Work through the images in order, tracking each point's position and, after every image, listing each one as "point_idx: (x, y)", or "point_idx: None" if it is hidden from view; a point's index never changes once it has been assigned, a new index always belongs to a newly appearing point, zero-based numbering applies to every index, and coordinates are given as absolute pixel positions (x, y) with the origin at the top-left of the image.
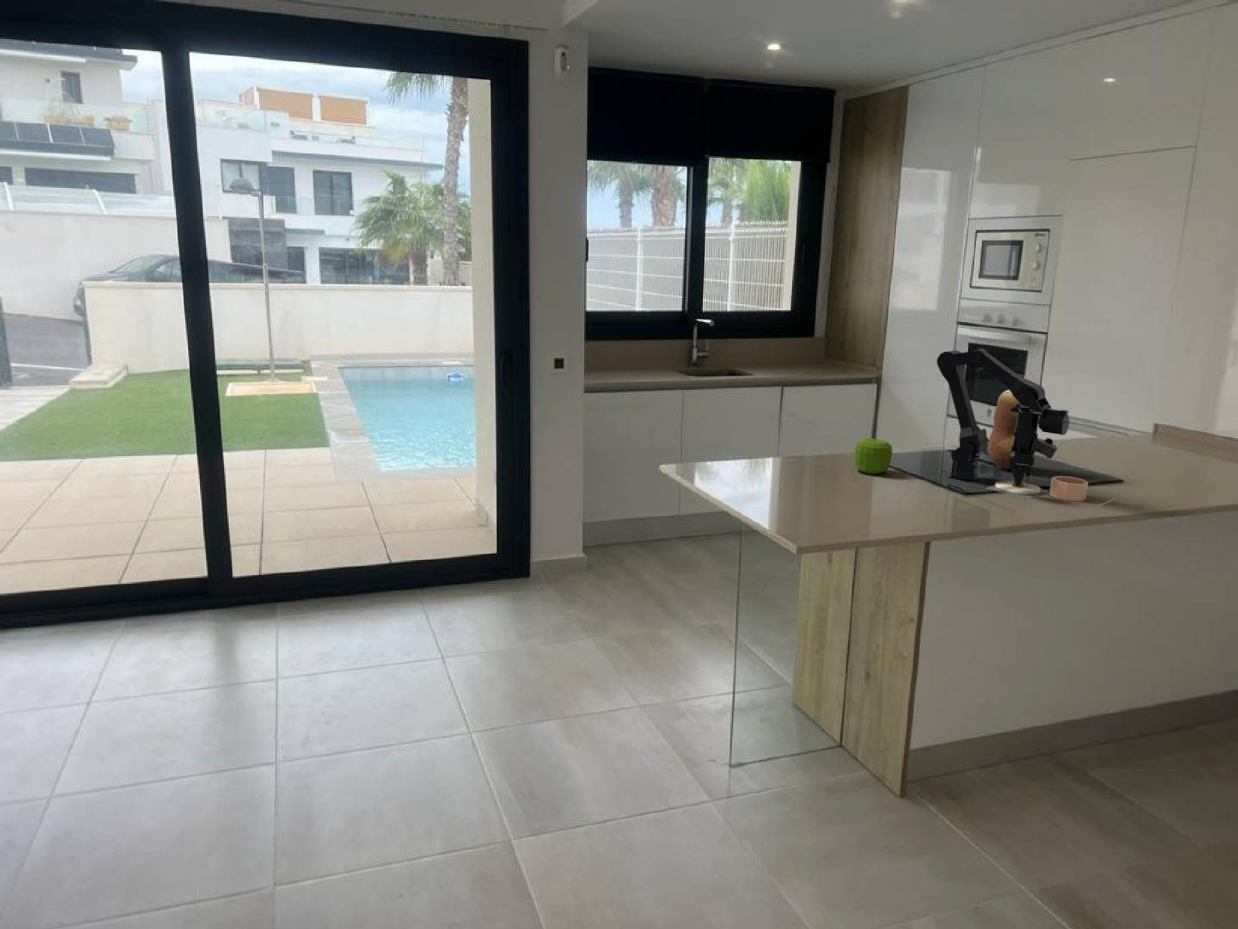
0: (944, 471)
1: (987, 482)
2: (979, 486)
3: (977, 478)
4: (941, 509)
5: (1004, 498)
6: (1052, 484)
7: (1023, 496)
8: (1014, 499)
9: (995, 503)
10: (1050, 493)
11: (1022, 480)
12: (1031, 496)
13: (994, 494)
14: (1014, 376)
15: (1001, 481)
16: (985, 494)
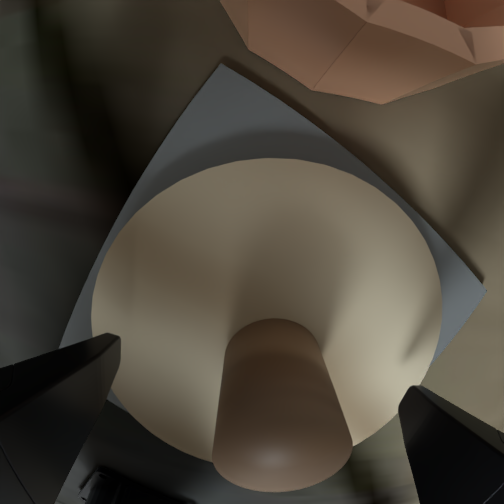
0: None
1: (119, 443)
2: (234, 487)
3: (105, 474)
4: None
5: None
6: (441, 78)
7: (454, 328)
8: (470, 368)
9: (499, 424)
10: (373, 95)
11: (329, 381)
12: (452, 275)
13: (386, 447)
14: None
15: (161, 431)
16: (387, 470)
